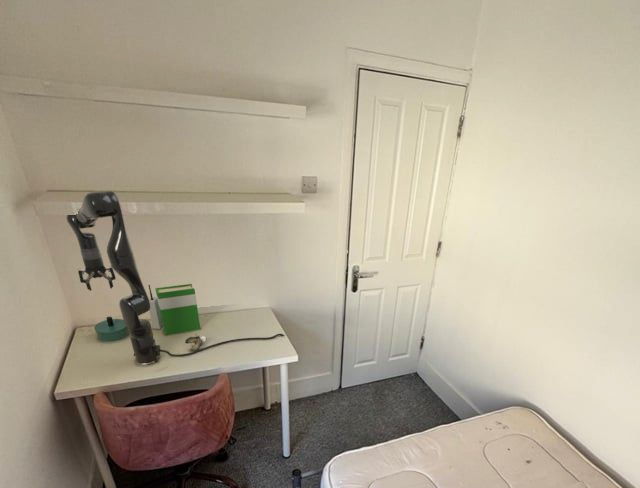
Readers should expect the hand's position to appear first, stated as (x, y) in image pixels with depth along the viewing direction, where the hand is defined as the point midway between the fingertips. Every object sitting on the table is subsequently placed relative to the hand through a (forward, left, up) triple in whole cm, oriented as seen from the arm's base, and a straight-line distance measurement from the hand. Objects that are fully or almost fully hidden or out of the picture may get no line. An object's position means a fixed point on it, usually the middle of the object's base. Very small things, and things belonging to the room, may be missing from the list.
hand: (101, 288), depth 188 cm
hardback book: (-32, 0, -26) cm, 42 cm away
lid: (0, 0, -21) cm, 21 cm away
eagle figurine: (-40, +20, -26) cm, 52 cm away
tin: (0, 0, -26) cm, 26 cm away
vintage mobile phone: (-20, -6, -26) cm, 34 cm away
